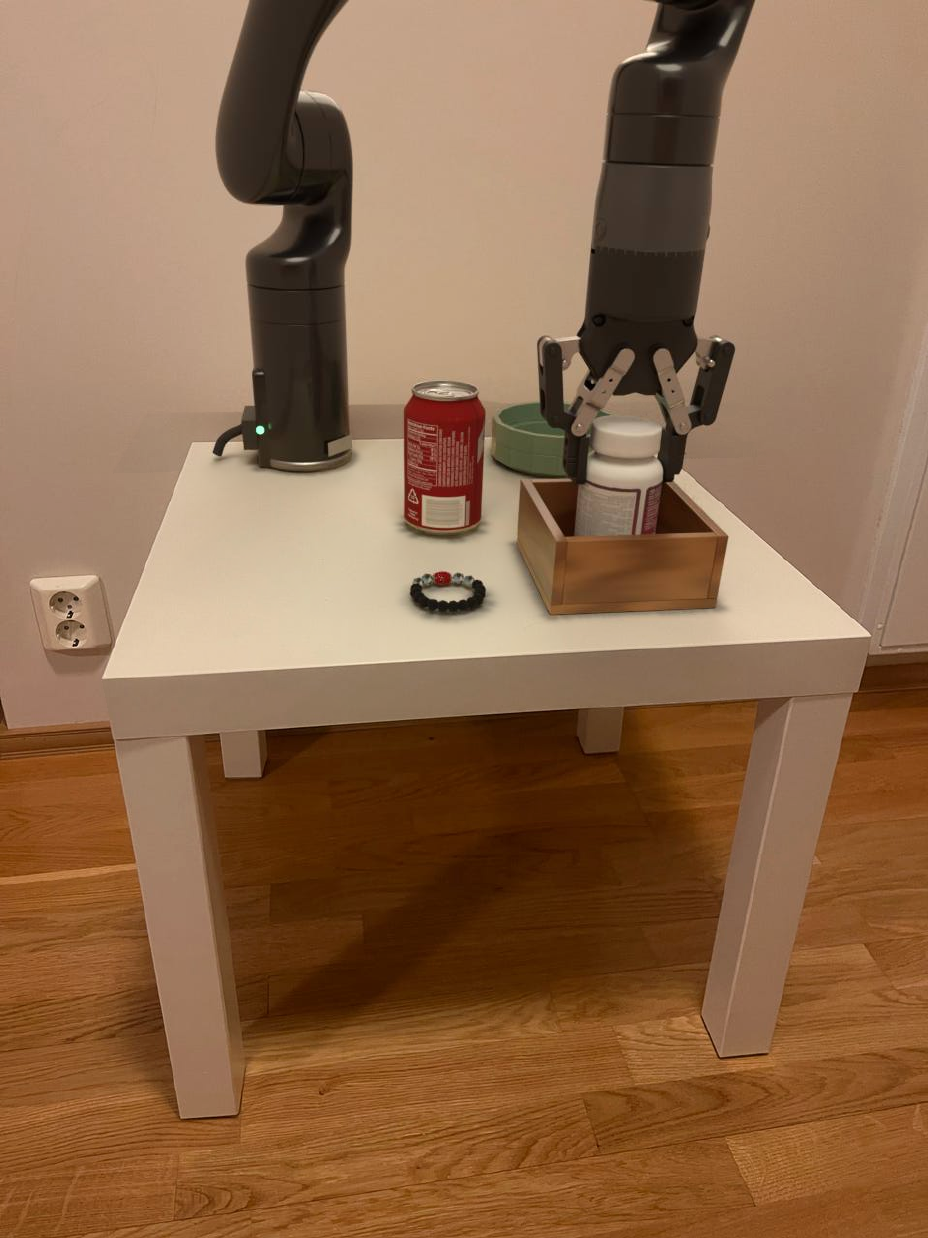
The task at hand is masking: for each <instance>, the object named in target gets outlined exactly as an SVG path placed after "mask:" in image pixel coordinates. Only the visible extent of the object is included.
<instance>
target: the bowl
mask: <svg viewBox="0 0 928 1238" xmlns="http://www.w3.org/2000/svg"><path fill="white" fill-rule="evenodd" d="M571 403H572V402H568V401H567V402H566V401H564V408H565V409H567V410H568V408H569V407H570V405H571ZM607 415H616V414H615V413H613V412H610V411H608V410H606V409H604V408H603V409H602V410H600V411H599V412H598V414H597V415H596V417H595V419H596V418H598V417H602V416H607ZM590 433H591V425H590V427H589V429H588V430H587V432H586V434H587V435H588V436H589V437H590ZM564 436H565V431H564V430H562V429H560V428H552V427H550V426H549V424H548V423H547V421H546V420H545V419H544V418H543V417H542V415H541V413H540V400H539V401H538V400H537V401H536V400H535V401H526V402H518V403H511V404H508V405H505V406H502V407H500V408H498V409H497V410H495V412H494V413H493V414H492V418H491V442H490V443H491V444H490V452H491V454H492V456H493V458H494V460H495V461H498V462H499V463H501V464H503V465H505V466H506V467H508V468H509V469H512V470H514V471H517V472H520V473H523V474H526V475H531V476H536V477H543V478H551V479H569V478H570V477H568V475H567V474H566V473H565V471H564V469H563V466H562V460H563V448H564ZM592 451H594V450H593V449H592V448H591V447H590V446H589V450H588V454H589V453H590V452H592Z"/></svg>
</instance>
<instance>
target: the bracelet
mask: <svg viewBox="0 0 928 1238" xmlns="http://www.w3.org/2000/svg"><path fill="white" fill-rule="evenodd" d="M452 581H453V582H454V583H455V584H457V585H459V584H464V585H465V586H466V587H471V588H472V589H473V595H472V596H468V597H467V598H466V599H460V600H459V601H456V600H450V601H447V600H443V599H442V600H437V599H435V598H429V596H428V597H427V596H426V594H425V593H424V592H422V591H423V585H426V586H430V585H431V584H432V583H434V584H437V585H442V586H443V585H448V584H450V583H452ZM486 593H487V588H486V586H485V585H484V583H483V581H482V580H480V579H475V577H473V575H471V574H470V575H465V576H464V573H461V572H458V571H457V572H456V573H454V574H453V575H452V573H451V572H449V571H437V572H434V573H432V574H431V573H424V574H423V575H422V576H421V577H416V578H413V579H412V584H411V585H410V591H409V595H410V597H411V598H412V599H413V601H414V602H415V603H416V604H418V605H419V607H420V608H422V609H426V608H427V610H429V611H431V612H434V611H436V610H438V612H440V613H446V612H450V613H458V611H460V612H467V610H468V609H470V610H473V609H476V608H477V607H478V606H481V605H482V604H483V602H484V598H485V597H486Z"/></svg>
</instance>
